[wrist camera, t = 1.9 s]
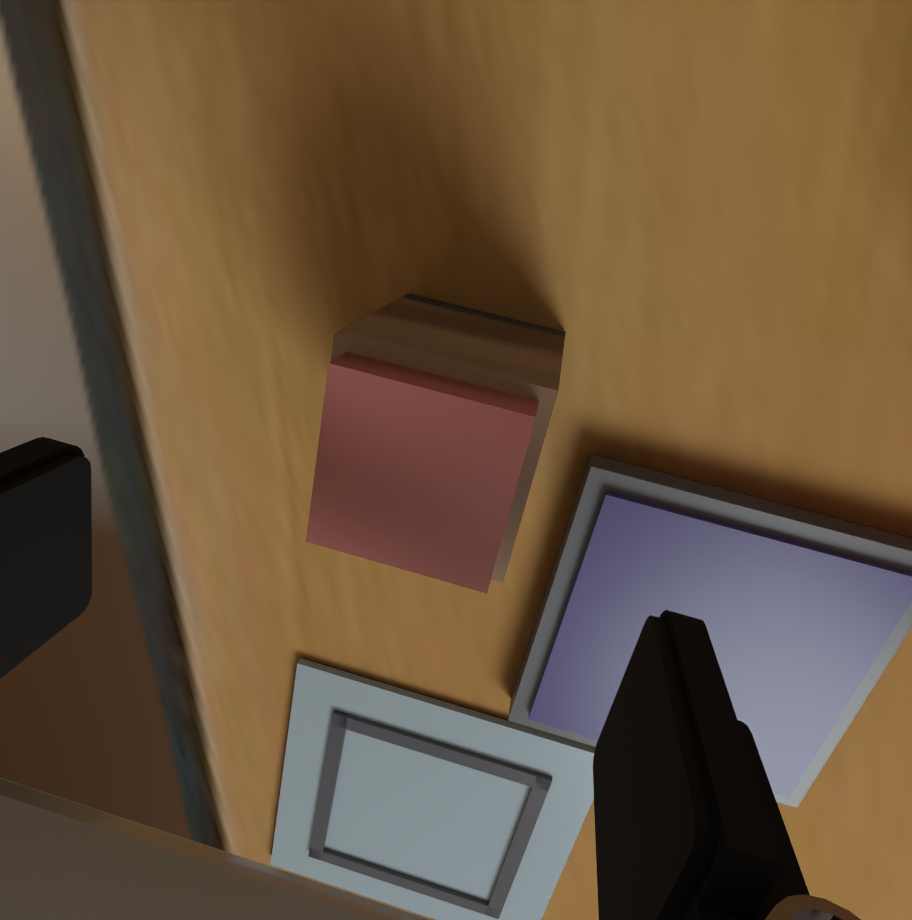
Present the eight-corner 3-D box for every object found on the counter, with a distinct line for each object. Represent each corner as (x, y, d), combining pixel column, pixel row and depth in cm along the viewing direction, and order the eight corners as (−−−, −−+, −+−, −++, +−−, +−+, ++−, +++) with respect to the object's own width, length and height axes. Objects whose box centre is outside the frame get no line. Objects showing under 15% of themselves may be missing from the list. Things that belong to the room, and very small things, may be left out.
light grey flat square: (300, 658, 24) (295, 666, 24) (610, 752, 23) (611, 762, 23) (273, 857, 29) (268, 868, 29) (528, 942, 28) (527, 955, 27)
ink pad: (590, 453, 19) (591, 470, 18) (934, 543, 18) (958, 567, 17) (510, 700, 23) (507, 726, 22) (787, 782, 22) (799, 815, 21)
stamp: (408, 293, 18) (315, 343, 12) (565, 332, 18) (556, 405, 11) (383, 438, 20) (291, 549, 14) (524, 476, 20) (497, 608, 13)
